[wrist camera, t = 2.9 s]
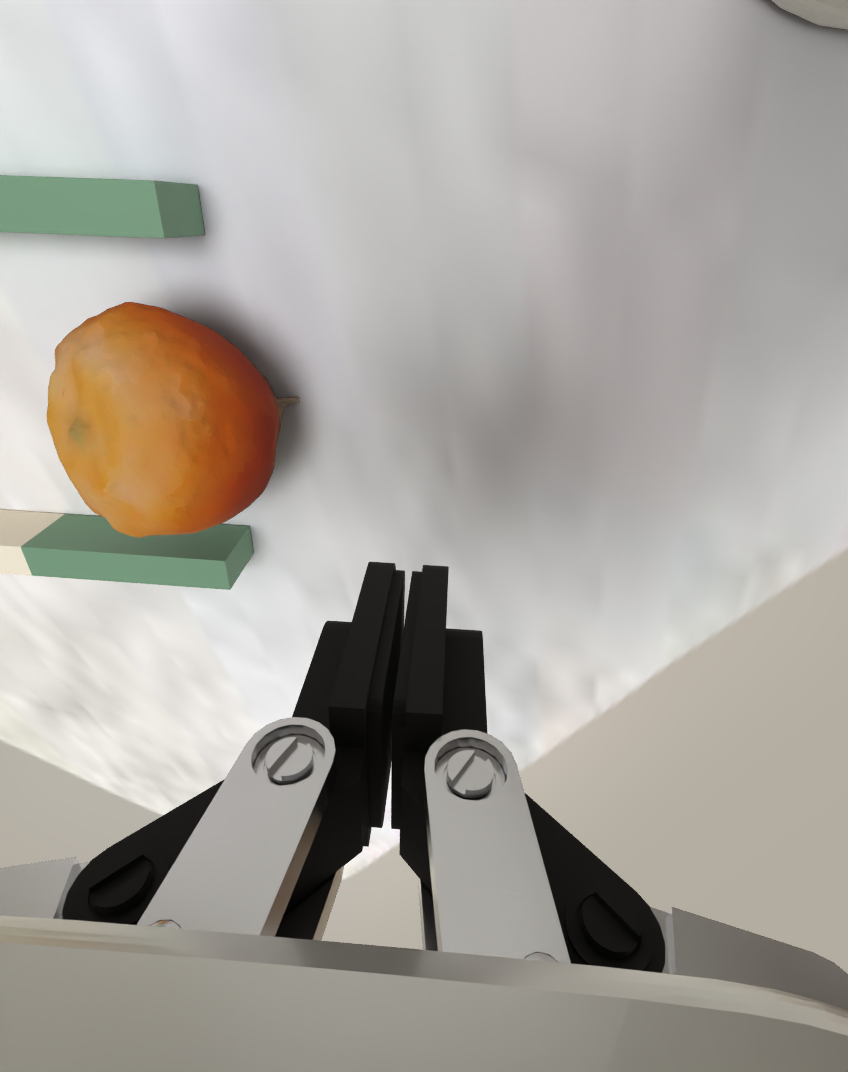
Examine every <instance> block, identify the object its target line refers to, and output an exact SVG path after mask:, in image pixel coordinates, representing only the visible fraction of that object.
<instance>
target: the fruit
mask: <svg viewBox="0 0 848 1072" xmlns="http://www.w3.org/2000/svg"><path fill="white" fill-rule="evenodd" d="M55 361H56V363H55V370H54V371H53V372H52V374H51V376H50V382H49V388H48V409H47V423H48V426H49V429H50V432H51V435H52V438H53V442H54V445H55V448H56V451H57V454H58V456H59V459H60V461H61V463H62V465H63V467H64V469H65V471H66V473H67V475H68V477H69V478H70V480H71V481H72V483H73V485H74V486H75V488H76V489H77V491H78V492H79V494H80V496H81V497H82V499H83V500H84V502H85V503H86V504H87V505H88V507H89V508H90V509H91V510H92V511H93V512H95V513H96V514H98V515H100V516H103V517H105V518H106V519H107V521H108V522H109V523H110V525H111V526H112V527H113V528H114V529H115V530H117V531H119V532H121V533H123V534H126V535H129V536H132V537H139V538H140V537H145V536H150V535H176V534H190V533H196V532H200V531H203V530H206V529H208V528H211V527H213V526H216V525H218V524H221V523H223V522H225V521H227V520H229V519H231V518H233V517H234V516H236V515H237V514H239V513H240V512H242V511H243V510H244V509H246V508H247V507H249V506H250V505H251V504H252V503H253V502H254V501H255V500H256V499H257V498H258V497H259V496H260V495H261V494H262V493H263V491H264V490H265V488H266V486H267V484H268V482H269V480H270V477H271V475H272V473H273V469H274V462H275V454H276V444H277V438H278V434H279V431H280V427H281V417H282V412H283V409H284V408H285V407H286V405H289V404H293V403H298V402H300V401H299V400H298V399H299V397H289V398H276V397H275V396H274V393H273V391H272V388H271V387H270V385H269V383H268V381H267V380H266V378H265V377H264V376H263V375H262V374H261V373H260V372H259V371H258V369H257V368H256V367H255V366H254V365H253V364H252V363H251V362H250V361H249V360H248V358H247V357H246V356H245V355H244V354H243V353H242V352H241V351H240V350H239V349H238V348H237V347H236V346H235V345H233V344H232V343H230V342H229V341H227V340H226V339H225V338H224V337H222V336H221V335H219V334H218V333H216V332H215V331H213V330H212V329H210V328H208V327H206V326H204V325H201V324H199V323H197V322H195V321H193V320H190V319H188V318H185V317H183V316H180V315H177V314H175V313H172V312H170V311H168V310H166V309H163V308H159V307H155V306H149V305H144V304H139V303H133V302H125V303H123V304H120V305H118V306H115V307H112V308H110V309H107V310H105V311H104V312H102V313H101V314H99V315H97V316H94V317H91V318H89V319H87V320H86V321H85V322H84V323H82V324H81V325H80V326H79V327H77V328H75V329H74V330H72V331H71V332H70V333H69V334H68V335H67V336H66V337H65V338H64V339H63V340H62V342H61V343H59V345H58V346H57V347H56V349H55Z"/></svg>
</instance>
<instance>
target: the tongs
mask: <svg viewBox="0 0 848 1072" xmlns="http://www.w3.org/2000/svg"><path fill="white" fill-rule="evenodd" d="M0 232H21V233H45V234H70V235H95V236H120V237H145V238H173V237H185V236H196V235H205V231H204V225H203V218H202V211H201V205H200V198H199V192H198V185H194V184H183V183H173V182H163V181H150V180H121V179H92V178H64V177H35V176H7V175H0ZM253 553H254V552H253V545H252V539H251V532H250V526H242V525H227V524H218V525H216V526H213V527H211V528H208V529H206V530H203V531H200V532H196V533H190V534H176V535H150V536H145V537H140V538H139V537H132V536H129V535H126V534H123V533H121V532H119V531H117V530H115V529H114V528H113V527H112V526H111V525H110V523H109V522H108V521H107V519H106V518H105V517H103V516H90V515H75V514H60V513H45V512H30V511H15V510H0V573H5V574H19V575H33V576H47V577H61V578H75V579H89V580H103V581H116V582H130V583H144V584H158V585H172V586H186V587H200V588H214V589H228V590H230V589H231V588H232V586H233V584H234V583H235V581H236V580H237V578H238V577H239V575H240V573H241V572H242V570H243V569H244V567H245V566H246V564H247V563H248V561H249V559H250V558H251V556H252V555H253Z"/></svg>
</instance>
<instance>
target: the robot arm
mask: <svg viewBox="0 0 848 1072" xmlns="http://www.w3.org/2000/svg"><path fill="white" fill-rule="evenodd" d="M772 1H773V2H774V3H775V4H776V5H778V6H779V7H780V8H781V9H784V10H786V11H788V12H790V13H793V14H795V15H797V16H799V17H801V18H804V19H806V20H808V21H810V22H812V23H815V24H817V25H821V26H828V27H834V28H841V29H848V0H772ZM447 590H448V567H446V566H430V565H423V569H422V572H417V571H413V572H412V577H411V584H410V591H409V598H408V604H407V611H406V618H405V625H404V593H405V571H400V570H396V567H395V563H381V562H369V563H368V566H367V570H366V574H365V577H364V581H363V584H362V588H361V591H360V595H359V599H358V602H357V606H356V609H355V613H354V616H353V620H352V622H339V621H327V622H326V623H325V625H324V627H323V630H322V633H321V636H320V638H319V641H318V644H317V647H316V650H315V653H314V656H313V659H312V661H311V664H310V667H309V670H308V673H307V676H306V679H305V681H304V684H303V687H302V690H301V693H300V696H299V699H298V702H297V704H296V707H295V710H294V713H293V716H292V718H286V719H280V720H278V721H275V722H273V723H270V724H268V725H266V726H265V727H263V728H262V729H261V730H259V731H258V732H256V733H255V734H254V735H253V737H252V738H251V739H250V740H249V741H248V743H247V744H246V745H245V747H244V749H243V750H242V752H241V754H240V755H239V757H238V759H237V760H236V762H235V764H234V765H233V767H232V768H231V770H230V772H229V773H228V775H227V777H226V778H225V779H224V780H223V781H221V782H219V783H218V784H216V785H214V786H212V787H211V788H209V789H207V790H206V791H204V792H202V793H201V794H199V795H197V796H196V797H194V798H192V799H190V800H189V801H187V802H185V803H184V804H182V805H180V806H179V807H177V808H175V809H173V810H172V811H170V812H168V813H167V814H165V815H163V816H162V817H160V818H158V819H157V820H155V821H153V822H152V823H150V824H148V825H147V826H145V827H143V828H141V829H140V830H138V831H136V832H135V833H133V834H131V835H129V836H128V837H126V838H124V839H123V840H121V841H119V842H118V843H116V844H114V845H112V846H111V847H109V848H108V849H106V850H105V851H103V852H102V853H101V854H99V855H98V856H97V857H95V858H94V859H92V861H90V862H85V863H80V864H79V863H78V861H77V859H76V857H72V858H65V859H58V860H51V861H45V862H38V863H31V864H25V865H18V866H11V867H4V868H0V1072H848V974H847V973H846V972H845V971H843V970H842V969H841V968H840V967H839V966H837V965H836V964H835V963H834V962H832V961H830V960H828V959H826V958H823V957H821V956H819V955H817V954H815V953H813V952H811V951H807V950H804V949H801V948H798V947H795V946H792V945H789V944H786V943H783V942H779V941H776V940H773V939H770V938H767V937H764V936H761V935H758V934H754V933H752V932H749V931H745V930H742V929H739V928H736V927H733V926H730V925H727V924H724V923H721V922H718V921H714V920H711V919H708V918H705V917H702V916H699V915H696V914H693V913H690V912H687V911H683V910H680V909H677V908H674V907H671V909H670V911H669V913H667V912H663V911H661V910H657V909H654V908H651V907H650V906H649V905H648V904H647V903H646V902H645V901H644V900H643V899H642V898H641V896H640V895H639V894H638V893H637V892H636V891H635V890H634V889H633V888H632V887H630V886H629V885H628V884H627V883H626V882H624V881H623V880H622V879H621V878H620V877H619V876H618V875H617V874H616V873H614V872H613V871H612V870H611V869H610V868H609V867H608V866H607V865H606V864H604V863H603V862H602V861H601V860H600V859H599V858H598V857H597V856H595V855H594V854H593V853H592V852H591V851H590V850H589V849H588V848H586V847H585V846H584V845H583V844H582V843H581V842H580V841H579V840H577V839H576V838H575V837H574V836H573V835H572V834H570V833H569V832H568V831H567V830H566V829H565V828H564V827H563V826H561V825H560V824H559V823H558V822H557V821H556V820H555V819H554V818H552V817H551V816H550V815H549V814H548V813H547V812H546V811H545V810H544V809H542V808H541V807H540V806H539V805H538V804H537V803H536V802H535V801H533V800H532V799H531V798H530V797H529V796H528V795H527V794H526V793H524V789H523V786H522V782H521V778H520V775H519V771H518V767H517V764H516V762H515V760H514V757H513V755H512V753H511V752H510V751H509V749H508V748H507V747H506V746H505V745H504V744H503V743H502V742H501V741H499V740H498V739H496V738H495V737H493V736H492V735H489V734H487V717H486V696H485V676H484V655H483V636H482V631H476V630H461V629H446V614H447ZM391 761H392V797H391V828H392V829H400V855H401V857H402V858H403V859H404V860H405V861H406V863H407V864H408V865H409V866H410V867H411V869H412V870H413V871H414V872H415V873H416V875H417V876H418V877H419V885H418V887H419V900H420V914H421V926H422V941H423V950H418V949H408V948H397V947H396V948H395V947H385V946H374V945H362V944H352V943H340V942H328V941H321V940H322V936H323V934H324V931H325V927H326V925H327V922H328V918H329V916H330V912H331V910H332V907H333V903H334V900H335V898H336V895H337V892H338V889H339V886H340V883H341V880H342V874H343V868H344V865H345V864H347V863H348V862H349V861H350V860H352V859H353V858H354V857H355V856H357V855H358V854H359V853H360V852H362V849H363V846H369V840H370V834H371V827H378V828H382V826H383V820H384V813H385V805H386V798H387V791H388V783H389V776H390V768H391Z"/></svg>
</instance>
